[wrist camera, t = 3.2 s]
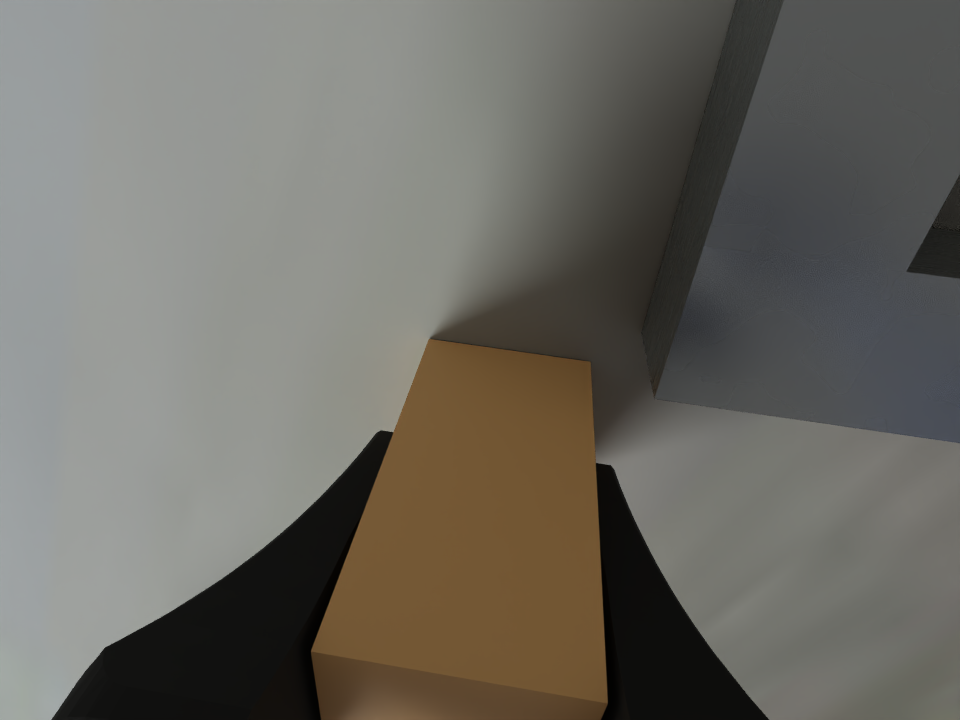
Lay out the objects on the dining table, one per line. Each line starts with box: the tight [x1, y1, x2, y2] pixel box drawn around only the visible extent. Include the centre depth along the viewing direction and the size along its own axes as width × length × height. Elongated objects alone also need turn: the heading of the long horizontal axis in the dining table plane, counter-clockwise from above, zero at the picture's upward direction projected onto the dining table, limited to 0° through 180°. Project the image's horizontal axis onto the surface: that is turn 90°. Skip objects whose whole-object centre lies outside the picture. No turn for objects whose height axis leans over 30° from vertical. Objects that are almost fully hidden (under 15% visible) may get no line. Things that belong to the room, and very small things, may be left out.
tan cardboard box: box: [311, 339, 608, 720], centre depth 12 cm, size 4×4×8 cm
